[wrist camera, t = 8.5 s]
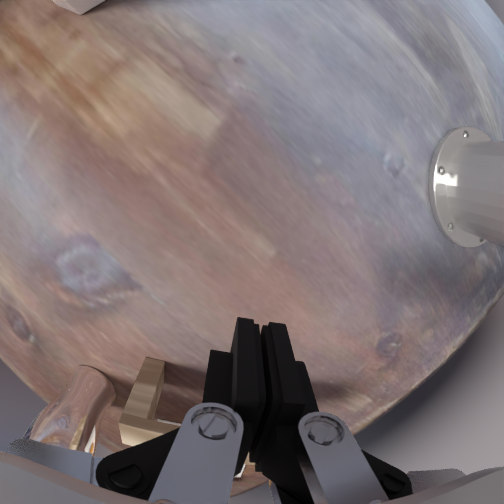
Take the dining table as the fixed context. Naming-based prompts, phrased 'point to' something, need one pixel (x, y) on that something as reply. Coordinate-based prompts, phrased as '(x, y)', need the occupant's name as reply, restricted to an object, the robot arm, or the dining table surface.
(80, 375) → the beer glass
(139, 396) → the bridge
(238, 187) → the dining table surface
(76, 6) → the jar
